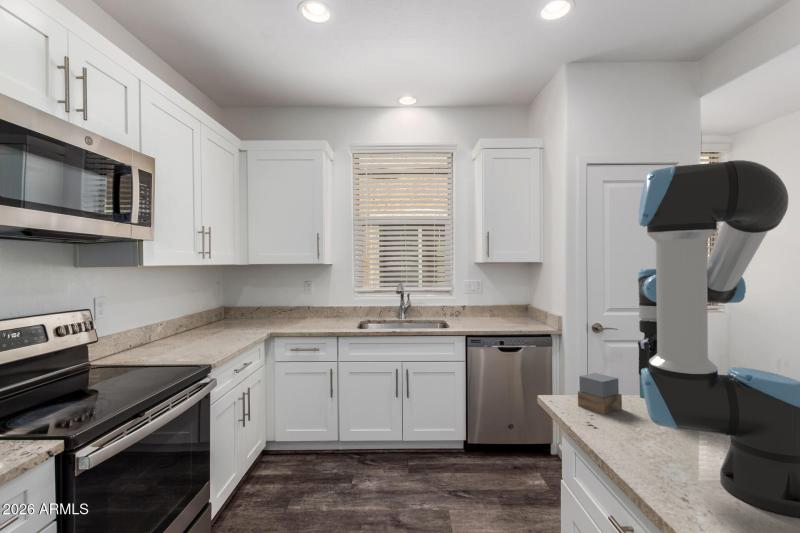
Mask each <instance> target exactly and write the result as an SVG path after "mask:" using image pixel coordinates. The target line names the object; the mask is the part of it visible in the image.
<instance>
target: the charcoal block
mask: <svg viewBox="0 0 800 533" xmlns="http://www.w3.org/2000/svg"><path fill="white" fill-rule="evenodd" d="M579 391H580V392H583V393H586V394H590V395H593V396H597V397H600V398H606V397H610V396H614V395H617V394H620V393H619V391H620V390H619V377H616V376H615V377H614V376H611V375H605V374H602V373H597V372H592V373H588V374H584V375H583V374H582V375H580V376H579Z"/></svg>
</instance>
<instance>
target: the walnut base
mask: <svg viewBox="0 0 800 533" xmlns="http://www.w3.org/2000/svg"><path fill="white" fill-rule="evenodd" d="M622 396H623V395H622V394H621V393H619V394H617V395H614V396H610V397H606V398H600V397H597V396H593V395H590V394H586V393H583V392H580V390H578V391H577V407H579V408H583V409H586V410H590V411H591V412H596V413H598V414H602V415H607V414H612V413H615V412H617V411H618V412H619V411H620V410H623V403H622V402H623V397H622Z"/></svg>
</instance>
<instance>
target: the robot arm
mask: <svg viewBox="0 0 800 533" xmlns="http://www.w3.org/2000/svg"><path fill="white" fill-rule="evenodd" d="M788 208H789V194H788V190H787V186H786V185H785V183H784V181H783V180H782V179H781V177H780V176H779V174H777V173H776V172H775V171H773V170H772V169H770V168H769V167H767V166H766V165H763V164H761V163H759V162H756V161H752V160H742V159H741V160H740V159H739V160H737V159H736V160H728V161H722V162H720V161H718V162H707V163H699V164H698V163H697V164H688V165H675V166H673V165H672V166H670V167H665V168H664V167H663V168H658V169H654V170H651V171H650V172H649V173H648V174H647V175H646V176H645V178H644V181H643V185H642V189H641V196H640V200H639V209H638V225H640V226H641V227H644V228H645V227H646V230H647V236H649V237H650V238H651V239H652V240H653V241H654V242H655V268H642V269H640V270H639V271H638V277H637V278H638V279H637V282H638V301H639V303H638V318H639V319H640V320H639V328H638V329H639V332H640V333H642V334H644V335H643V340H642V341H641V340H638V342H637V346H638V375H639V374H640V375H641V379H642V386H643V391H644V398H645V399H644V398H643V399H644V400H645V404H646V411H647V413H648V416H649V419H650V420H651V422H653V423H654V424H655V425H657V426H660V427H664V428H666V427H667V428H670V429H674V430H677V431H679V430H684V431H689V432H690V431H691V432H699V433H704V434H705V433H707V434H714V435H723V436H730V438H729V439H730V446H729V449H728V451H727V453H726V455H725V459H724V460H723V462H722V465H721V467H720V469H719V476H720V477H719V478H720V484H721V486H722V487H723V488H724V489H725V491H727V492H728V493H729V494H731V495H733V496H734V497H736V498H738V499H740V500H741V501H743V502H746V503H748V504H749V505H752V506H755V507H757V508H760V509H764V510H765V511H770V512H772V513H776V514H780V515H784V516H788V517H789V516H791V517H795V518H800V381H799V380H796V379H794V378H791V377H789V376H785V375H782V374H781V375H780V374H778V373H773V372H769V371H765V370H761V369H760V370H759V369H755V368H748V367H739V366H738V367H736V366H732V367H730V368H729V369H728V370H727V374H719V373H718V371H719V369H718V366H717V365H716V364H715V363H714V362H713V361H712V360H710V359H709V343H708V340H709V338H708V337H709V334H708V333H709V332H708V331H709V328H708V324H709V322H708V320H709V316H708V311H709V310H708V308H709V307H708V304H709V303H710V304H732V303H733V304H734V303H737V304H738V303H741V302H742V301H744V299H745V297H746V296H745V295H746V292H747V290H746V289H747V288H746V281H745V279H744V277H743V276H744V274H745V272H746V270H747V268H748V267H749V264H750V263H751V262H752V260H753V258H754V256H755V255H756V253H757V251H758V249H759V247H760V246H761V244H762V243H763V240H764V239H765V238H766V235H767V234H768V232H770V231H772V230H775V228H777V227H778V226H779V225H780V224H781V222H782V221H783V220H784V218H785V215H786V213H787V211H788ZM717 223H722V225H721V226H720V230H719V232H718V234H717V236H716V239H715V241H714V244H713V246H712V249H711V252H710V253H709V256H708V239H710V237H712V236H714V234H715V233H717V230H718V228H717V225H718V224H717Z"/></svg>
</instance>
